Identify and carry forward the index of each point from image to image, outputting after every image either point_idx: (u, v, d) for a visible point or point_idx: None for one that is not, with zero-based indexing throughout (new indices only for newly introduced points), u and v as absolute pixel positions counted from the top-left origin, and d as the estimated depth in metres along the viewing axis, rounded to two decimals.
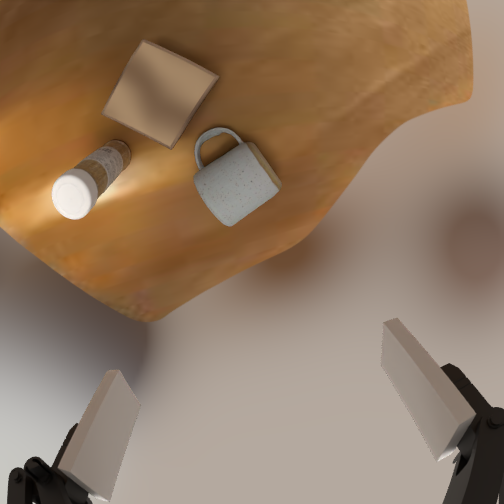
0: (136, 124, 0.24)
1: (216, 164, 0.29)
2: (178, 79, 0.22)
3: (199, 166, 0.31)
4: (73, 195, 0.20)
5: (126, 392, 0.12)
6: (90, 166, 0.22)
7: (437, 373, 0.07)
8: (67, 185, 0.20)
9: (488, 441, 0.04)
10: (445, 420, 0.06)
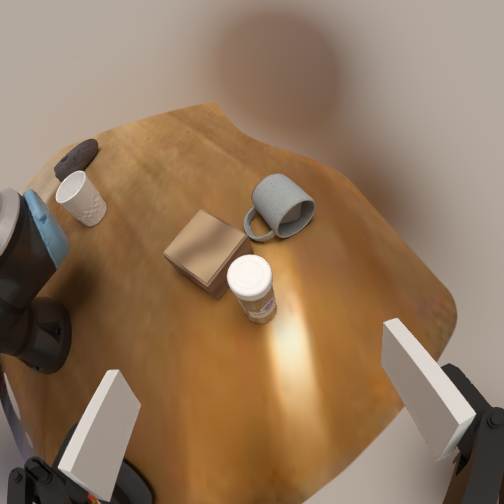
0: (223, 257, 0.37)
1: (264, 213, 0.41)
2: (196, 229, 0.39)
3: (270, 232, 0.42)
4: (246, 269, 0.28)
5: (126, 392, 0.12)
6: None
7: (437, 373, 0.07)
8: (235, 272, 0.28)
9: (488, 441, 0.04)
10: (445, 420, 0.06)
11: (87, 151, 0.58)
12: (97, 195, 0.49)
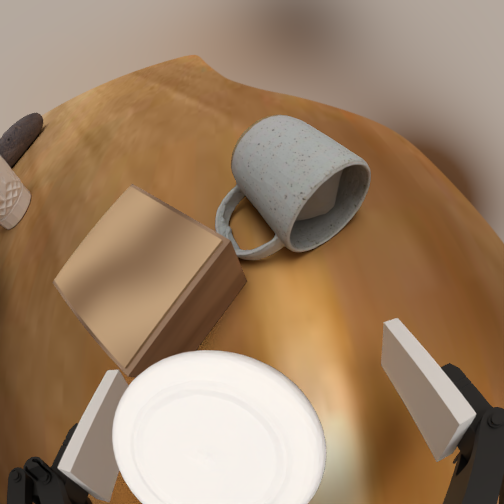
0: (163, 301, 0.13)
1: (258, 198, 0.17)
2: (115, 229, 0.16)
3: (272, 240, 0.18)
4: (191, 432, 0.04)
5: None
6: None
7: (437, 373, 0.07)
8: (142, 440, 0.04)
9: (488, 441, 0.04)
10: (445, 420, 0.06)
11: (26, 129, 0.35)
12: (13, 182, 0.25)
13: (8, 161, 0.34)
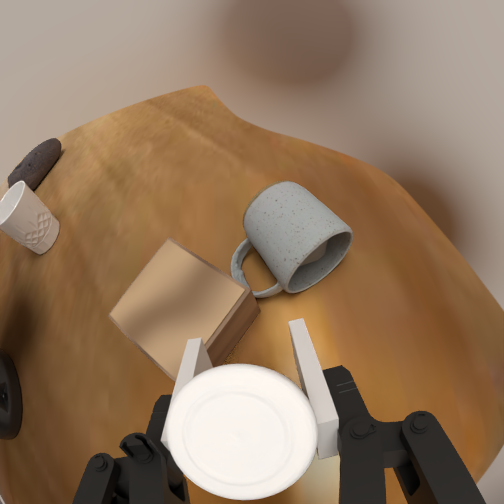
0: (204, 333, 0.19)
1: (265, 255, 0.23)
2: (160, 276, 0.22)
3: (275, 285, 0.24)
4: (227, 420, 0.07)
5: (207, 360, 0.13)
6: None
7: (315, 372, 0.09)
8: (191, 428, 0.07)
9: (355, 453, 0.06)
10: None
11: (46, 154, 0.42)
12: (43, 213, 0.32)
13: (30, 185, 0.41)
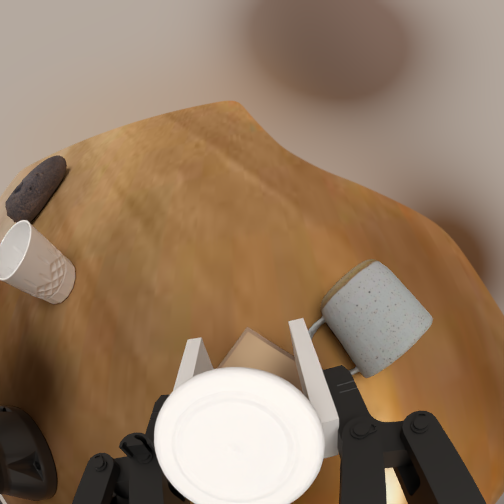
0: None
1: (350, 345, 0.20)
2: None
3: (354, 371, 0.21)
4: (222, 431, 0.06)
5: (207, 360, 0.13)
6: None
7: (315, 372, 0.09)
8: (182, 439, 0.06)
9: (356, 453, 0.06)
10: None
11: (50, 175, 0.37)
12: (56, 260, 0.27)
13: (32, 212, 0.36)
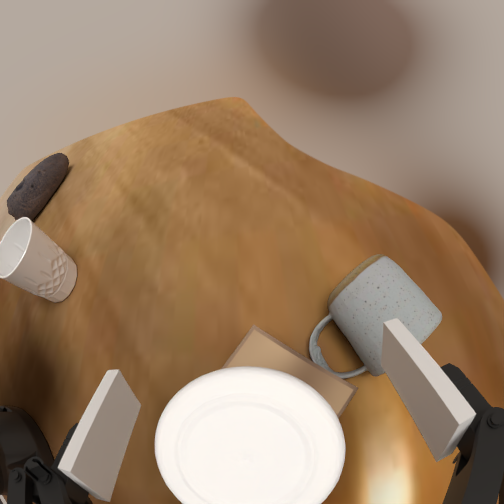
0: None
1: (358, 343, 0.19)
2: None
3: (362, 370, 0.20)
4: (232, 438, 0.05)
5: (126, 392, 0.12)
6: None
7: (437, 373, 0.07)
8: (186, 447, 0.05)
9: (488, 441, 0.04)
10: (445, 420, 0.06)
11: (52, 173, 0.37)
12: (57, 257, 0.27)
13: (33, 210, 0.36)
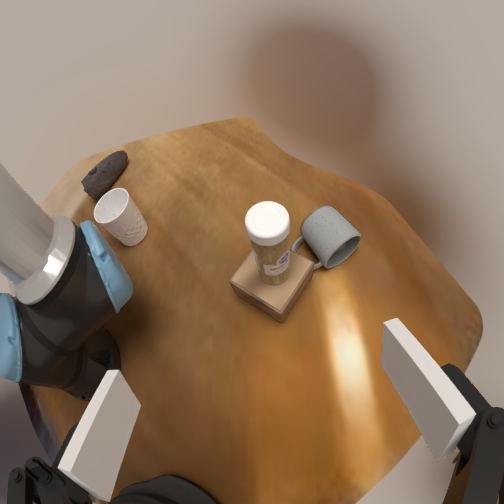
0: (293, 285, 0.38)
1: (314, 246, 0.42)
2: None
3: (318, 263, 0.43)
4: (264, 213, 0.28)
5: (126, 392, 0.12)
6: None
7: (437, 373, 0.07)
8: (253, 217, 0.28)
9: (488, 441, 0.04)
10: (445, 420, 0.06)
11: (117, 164, 0.60)
12: (139, 214, 0.50)
13: (103, 189, 0.59)
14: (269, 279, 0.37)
